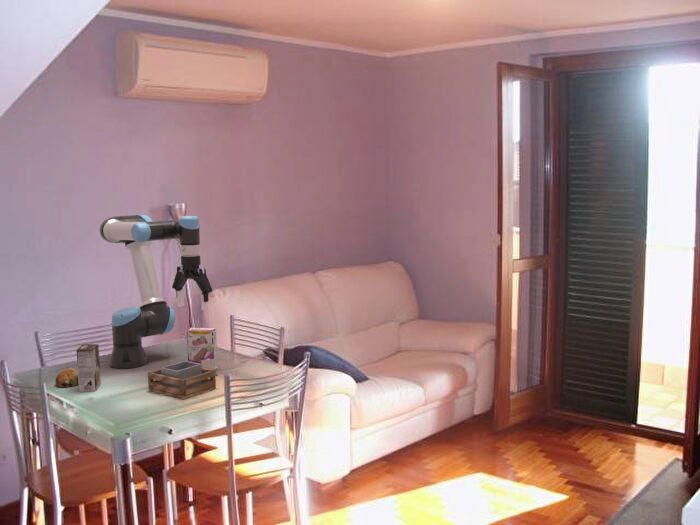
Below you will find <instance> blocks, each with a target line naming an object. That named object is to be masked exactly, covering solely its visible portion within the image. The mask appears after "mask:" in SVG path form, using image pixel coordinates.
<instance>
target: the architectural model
mask: <svg viewBox="0 0 700 525" xmlns="http://www.w3.org/2000/svg"><path fill="white" fill-rule="evenodd" d="M201 364H202V368H205V369H209V370H215V371H216V369H219V366H218V365H217V366H215V359H209V358H208V359H207V360H201ZM215 377H216V372H215Z"/></svg>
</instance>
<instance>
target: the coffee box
mask: <svg viewBox="0 0 700 525" xmlns="http://www.w3.org/2000/svg"><path fill="white" fill-rule="evenodd" d="M99 346H100V345H99V344H98V343H95V344H94V343H93V344H92V343H88V344H87V343H86V344H83V343H82V344H81V345H80V346H79V347H78V348H77V349H76V362H77V363H76V364H77V370H78V383H79V385H78V393H79V392H80V393H81V392H82V393H83V392H96V391H97V390H98V389H99V387H100V386H101V385H102V379H101V378H102V377H101V367H100V366H101V363H100V348H99Z"/></svg>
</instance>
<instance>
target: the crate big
mask: <svg viewBox="0 0 700 525" xmlns="http://www.w3.org/2000/svg"><path fill="white" fill-rule="evenodd" d="M215 373H216V369H215V370H209V369H205V368H202V374H200V375H197V376H193V377H190V378H187V379H178V378H173V377H169V376H164V375H161V368H160V369H157V370H154V371H148V372H147V384H148V385H147V386H148V392H153V393H157V394H161V395H165V396H169V397H174V398H178V399H182V400H185V399H189V398H191V397H195V396H197V395H200V394H203V393H207V392H209V391H212V390H214V389H217V387H216V386H217V385H216V376H215ZM201 380H202V384H199V385H196V386H193V387H190V388H186V385H189V384H192V383H195V382H198V381H201ZM161 381H163V382H167V383H171V384H176V385H180V386H181V389H180V388H175V387H171V386H167V385H162V384H161Z"/></svg>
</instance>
